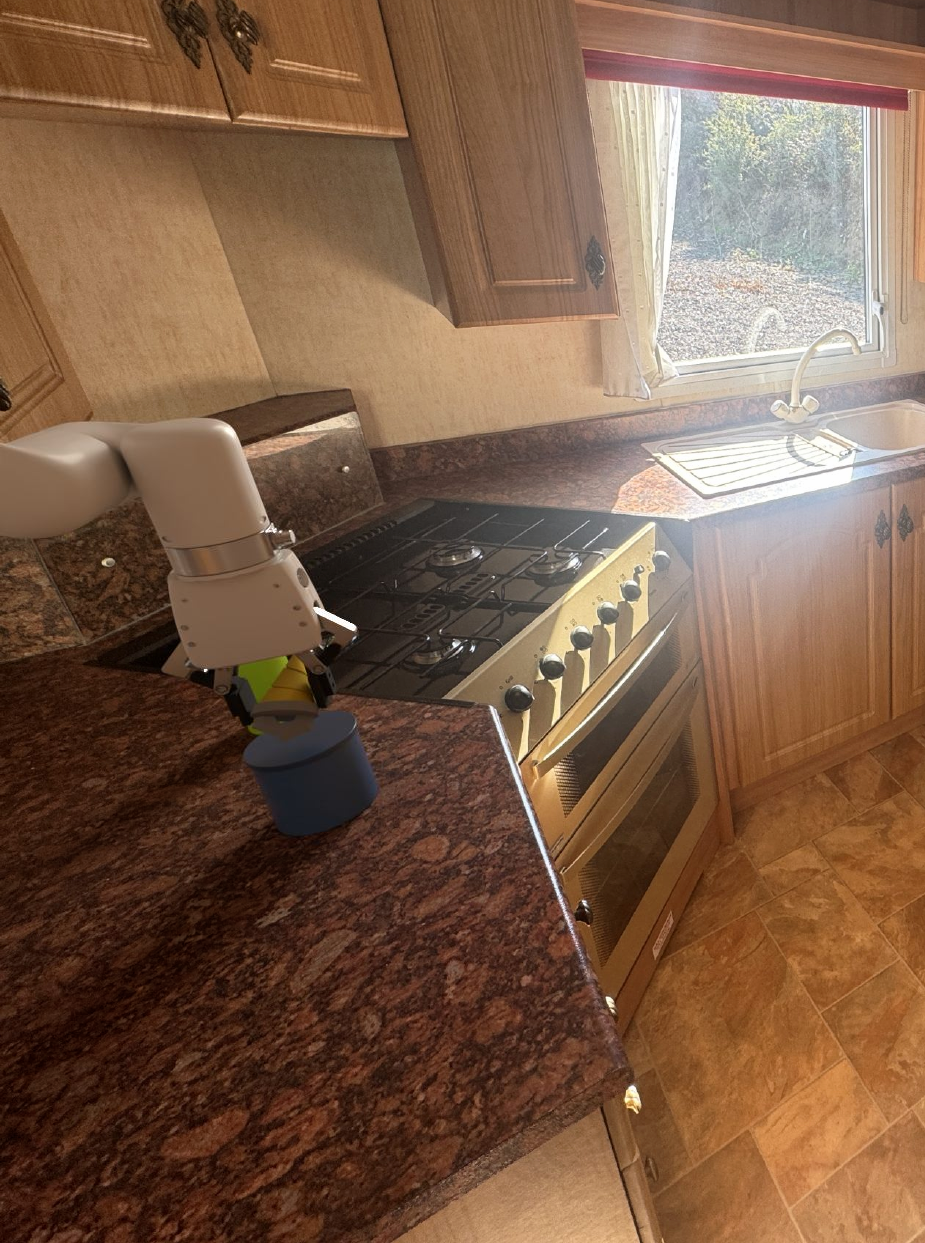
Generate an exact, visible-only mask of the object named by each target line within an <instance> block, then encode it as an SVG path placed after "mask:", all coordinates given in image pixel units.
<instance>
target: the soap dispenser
mask: <svg viewBox="0 0 925 1243" xmlns="http://www.w3.org/2000/svg"><path fill="white" fill-rule="evenodd" d="M288 661H289V660H288V657H287V656H283V657H278V658H273V659H268V660H263V661H258V662H253V663H247V664H242V665H239V673H238V676H240V677H241V678H244V677H245V680H248V682H249V684H250V686H251V689H252V691H253V693H254V696H255V698H256V700H257V703H260V701H261V700H262V698H263V697H264V695H265V694H266V693H267V691H268V690H269V688H272V686H271V685H272V684H273V683H274V681H275V680H276V678H277V677H278V675H279V674H280V673H281V671H282V670H283V668H285V667H287V666H286V664H287V663H288ZM279 723H283V722H279ZM252 726H253V723H252V724H251V725H249V726H247V728H248V731H249V732H250V733H251V734H254V735H261V734H262V733H264V732H261V731H258V730H256V729H253V728H252Z"/></svg>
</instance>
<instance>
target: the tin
mask: <svg viewBox="0 0 925 1243" xmlns="http://www.w3.org/2000/svg"><path fill="white" fill-rule="evenodd" d="M283 723H289V722H283ZM358 729H359V724H358V721H357V718H356V716H355V715H354V714H352V713H350V712H348V711H343V710H324V711H322V710H321V711H320V712H319V716H318V717H317V718H314V721H313V727H312V730H310V731H308V732H306V733H303V734H301V735H299V736H297V737H294V738H292V739H290V740H287V741H285V742H283V743H281V744H280V740H281V738H278V737H276V736H273V735H270V734H267V733H262V734H259V735H258V736H256V737H255V738H254V739H253V740H252V741H251V742H250V743H248V745H247V746H246V748H245V749H244V751H243V754H242V759H243V762H244V764H245V766H246V767H247V768H248V769H250V771H251V773H252V775H253V777H254V780H255V782H256V784H257V786H258V788H259V791H260V793H261V796H262V797H263V800H264V802H265V804H266V806H267V809H268V811H269V814H270V815H271V818H272V820H273V821H274V824H275V827H276V829H277V830H278V832H280V833H282V834H283V835H287V836H290V837H291V836H292V837H293V836H294V837H302V836H311V835H316V834H318V833H323V832H326V831H329V830H332V829H335V828H336V827H339V826H340V825H343V824H345V823H347V822H349V821H351V820H352V819H354V818H355V817H357V816H358V815H361V813H363V812H364V811H366V809H368V807H370V805H371V804H373V802H374V801H375V800H376V798H377V797H378V793H379V789H380V788H379V784H378V780H377V779H376V776H375V773H374V771H373V768H372V765H371V763H370V760H369V757H368V754H367V752H366V749H365V746H364V743H363V741H362V738H361V736H360V733H359V730H358Z"/></svg>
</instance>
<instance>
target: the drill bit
mask: <svg viewBox="0 0 925 1243" xmlns="http://www.w3.org/2000/svg"><path fill="white" fill-rule="evenodd" d="M286 666H287V667H285V668H283V670H282V671H281V673H280V674H279V675H278V677H277V678H276V680H275V681H274V683H273V684H272V685H271V686H272V688H269V690H268V691H267V693H266V694H265V695H264V697H263V698H262V700H261V701H260V703H257V704H254V705H253V706H252V709H251V713H250V717H251V718H253V719H254V722H253V726H252V728H253V729H256V730H258V731H261V732H264V733H267V734H270V735H273V736H276V737H278V738H281V740H280V744H281V743H283V742H285V741H287V740H290V739H292V738H294V737H297V736H299V735H301V734H303V733H306V732H308V731H310V730H312V727H313V721H314V718H317V717H318V716H319V712H321V708H318V706H317V703H316V701H315V698H314V695H313V693H312V690H311V688H310V685H309V683H308V674H307V671H306V666H305V665H304V664H303V663H302V662H301V661H300V660H299V659H298V658H297V657H296V656H295V655H294V654H292V655H291V657H290V658H289V660H288V663H287V664H286ZM279 722H289V723H279Z"/></svg>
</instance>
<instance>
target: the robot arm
mask: <svg viewBox="0 0 925 1243" xmlns="http://www.w3.org/2000/svg"><path fill="white" fill-rule="evenodd" d="M138 498H140V499H141V500H142V502H143V505H144V507H145V509H146V511H147V512H146V513H147V514H148V515H149V518H150V520H151V523H152V525H153V527H154V529H155V531H156V534H157V537H158V538H159V540H160V542H161V545H162V547H163V550H164V552H165V555H166V557H167V560H169V564H170V565H171V568H172V570H171V571H170V572H169V574H168V575H167V577H166V578H167V588H168V594H169V601H170V606H171V610H172V614H173V619H174V622H175V626H176V629H177V632H178V635H179V638H180V642H179V644H178V645H177V646H176V647H175V649H174V651H172V653H171V655H170V656H169V657H168V658H167V660H166V662H165V663H164V664H163V665H162V667H161V672H162V673H163V674H166V675H170V676H173V677H176V678H180V679H182V680H183V679H184V680H186V679H187V680H189V681H190V682H191V683H193V684H196V685H199V686H202V687H205V688H208V689H211V690H213V692H214V693H215V694H217V695H220V696H223V698H224V700H225V703H226V705H227V707H228V709H229V712H230V714H231V716H232V717H233V718H236V717H238V719H239V721H240V724H241V725H242V727H244V728H245V727H248V726H249V725H251V724H252V723H253V722H254V719H253V718H251V717H250V713H251V709H252V706H253V705H254V704H257V700H256V698H255V696H254V693H253V691H252V689H251V686H250V684H249V682H248V680H245V677H244V678H241V677H240V676H238V673H239V665H242V664H247V663H253V662H258V661H263V660H268V659H273V658H278V657H283V656H286V657H287V656H293V654H294V655H295V656H296V657H297V658H298V659H299V660H300V661H301V662H302V663H303V664H304V666H305V668H306V669H308V671H309V673H308V675H307V677H308V683H309V685H310V688H311V691H312V694H313V698H314V701H315V703H316V704H317V706H318V708H320V710H323V709H328V708H329V706H330V703H331V700H332V698H333V696H336V694H337V690H338V688H337V684H336V682H335V678H334V676H333V673H332V671H331V667H330V665H331V664H332V663H333V662H334V660H335V659H336V658H337V657H338V656H339V654H340V653H341V652H342V650H344V648H346V647H347V646H348V644H350V643H351V641H352V640H353V639H354V638H355V637H356V635H357V633H358V630H359V629H358V626H356V625H355V624H353V623H350V622H349V621H347V620H345V619H342V618H340V617H339V616H336V615H335V614H332V613H331V612H328V611H326V609H325V607H324V605H323V602H322V599H320V597H319V593H318V592H317V590H316V588H315V586H314V584H313V582H312V580H311V579H310V576H309V575H308V573H307V572H306V570H305V568H304V566H303V564H302V563H301V561H300V560H299V558H298V557H297V556H296V554H295V552H294V551H293V550H291V549H289V548H283V547H286V546H287V545H292V544H293V545H294V544H296V536H295V533H294V531H293V530H292V529H289V530H283V529H277V528H276V527H275V525H274V523H273V522H270V519H269V517H268V514H267V511H266V508H265V506H264V503H263V500H262V497H261V495H260V492H259V489H258V487H257V483H256V482H255V479H254V476H253V473H252V471H251V468H250V466H249V463H248V460H247V458H246V455H245V452H244V449H243V447H242V445H241V441H240V440H239V437H238V435H237V433H236V431H235V429H234V428H233V427H232V425H230V424H229V423H227V422H225V421H223V420H221V419H217V418H209V417H187V418H177V419H175V418H174V419H168V420H161V421H155V422H150V423H143V422H142V423H140V422H139V423H138V422H118V421H117V422H114V421H94V420H93V421H73V422H64V423H61V424H57V425H53V426H50V427H47V428H44V429H42V430H39V431H36V432H34V433H30V434H27V435H25V436H21V437H19V438H17V439H14V440H12V441H8V442H7V443H4V442H0V537H6V538H15V539H34V540H35V539H46V538H54V537H59V536H62V535H66V534H69V533H72V532H74V531H76V530H78V529H80V528H82V527H83V526H86V525H87V524H89V523H91V522H93V521H94V520H96V519H97V518H98V517H100V516H102V515H103V514H104V513H106V512H108V511H110V510H112V509H115V508H116V507H119V506H121V505H124V504H126V503H129V502H131V501H133V500H135V499H138ZM282 548H283V549H282ZM325 631H326V632H329V633H331V634H333V635H334V637H332V638H331V639H330V640H329V641H328V642H327V643H326V644H325V645H324V647H323V645H322V642H323V637H322V632H325Z"/></svg>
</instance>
